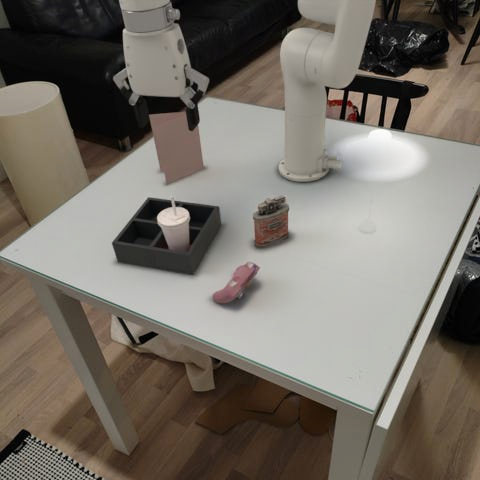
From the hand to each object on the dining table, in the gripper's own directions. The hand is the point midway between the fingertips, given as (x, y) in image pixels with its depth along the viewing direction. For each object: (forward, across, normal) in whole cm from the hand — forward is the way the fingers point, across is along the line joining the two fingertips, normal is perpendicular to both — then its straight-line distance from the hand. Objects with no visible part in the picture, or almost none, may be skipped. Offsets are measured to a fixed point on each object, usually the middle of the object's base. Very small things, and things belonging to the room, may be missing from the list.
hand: (169, 125), depth 87 cm
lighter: (+26, -17, -3) cm, 31 cm away
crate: (+25, +4, +2) cm, 26 cm away
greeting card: (+26, +12, -25) cm, 38 cm away
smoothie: (+25, 0, +7) cm, 26 cm away
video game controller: (+26, -15, +14) cm, 33 cm away
